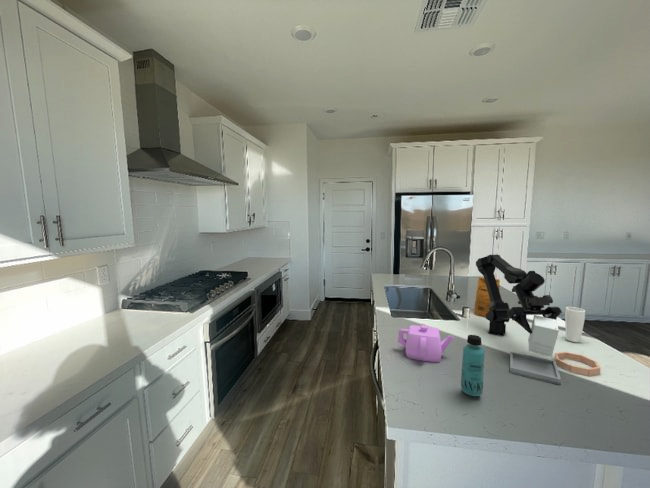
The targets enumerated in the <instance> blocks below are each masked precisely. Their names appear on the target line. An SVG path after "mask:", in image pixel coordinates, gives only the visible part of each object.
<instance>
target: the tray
mask: <svg viewBox="0 0 650 488" xmlns="http://www.w3.org/2000/svg"><path fill="white" fill-rule="evenodd" d="M509 352H510V353H509V354H510V355H509V363H510V365H509V368H510V369H509V370H510V371H509V373H510V374H514V375H517V376H522V377H526V378H530V379H535V380H538V381H542V382H547V383H551V384H554V385H558V386H559V385H560V386H561V385H562V378H561V375H560V371H559V368H558V366H557V364H556V361H555V360H553V359H548V358H544V357H538V356H534V355H530V354H524V353H520V352H516V351H515V352H514V351H509Z"/></svg>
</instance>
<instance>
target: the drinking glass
mask: <svg viewBox="0 0 650 488" xmlns="http://www.w3.org/2000/svg"><path fill="white" fill-rule="evenodd" d="M585 317H586V310H585V309H583V308H581V307H577V306H576V307H574V306H566V307H565V313H564V321H565V322H564V324H565V337H564V338H565V340H567V341H569V342H572V343H581V341H582V334H583V330H584V325H585V319H586V318H585Z"/></svg>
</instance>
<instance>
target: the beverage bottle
mask: <svg viewBox="0 0 650 488" xmlns="http://www.w3.org/2000/svg"><path fill="white" fill-rule="evenodd" d="M466 342H467V344H465V345H464V346H463V347H462V363H461V374H460V388H461V391H463V393H465V394H467V395H469V396H473V397H478V396H479V397H480V396H481V395H482V394H483V390H484V389H483V387H484V368H485V367H484V366H485V365H484V363H485V353H486V352H485V350H484V348H483V347H481V345H482V337H480V336H479V335H476V334H468V336H467V340H466Z"/></svg>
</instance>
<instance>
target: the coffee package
mask: <svg viewBox="0 0 650 488" xmlns="http://www.w3.org/2000/svg"><path fill="white" fill-rule="evenodd" d="M495 279H496V282H497V285H498V289H499V292H501V291H500V279H499V278H495ZM475 292H476V295H475V302H474V312H473V313H474V315H475V316H482V317H483V318H486V314H487V313H488V312H489V306H490V304H491V301H490V297H489V294H488V290H487V287H486V283H485V279H484V276H479V277H478V280H477V288H476V291H475Z"/></svg>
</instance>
